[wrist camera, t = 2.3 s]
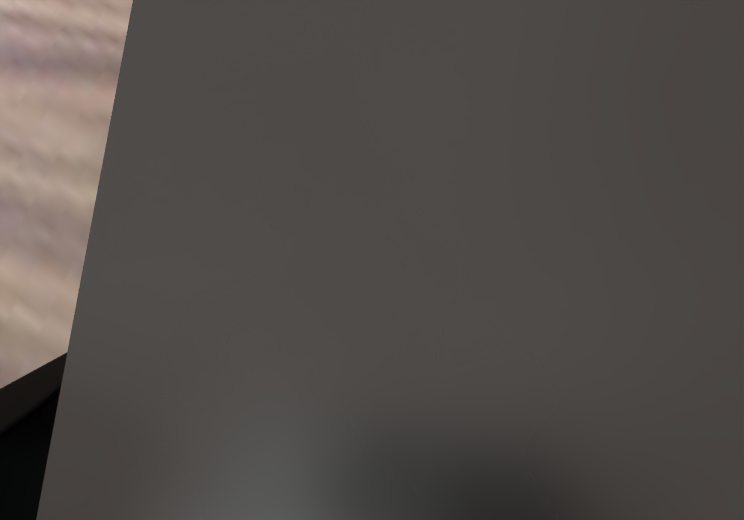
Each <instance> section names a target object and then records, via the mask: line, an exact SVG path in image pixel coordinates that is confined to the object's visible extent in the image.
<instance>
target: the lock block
mask: <svg viewBox="0 0 744 520" xmlns="http://www.w3.org/2000/svg"><path fill="white" fill-rule="evenodd" d="M36 520H744V0H133V4H132V9H131V14H130V20H129V25H128V30H127V36H126V41H125V46H124V52H123V57H122V63H121V68H120V73H119V79H118V84H117V89H116V95H115V100H114V105H113V111H112V116H111V122H110V127H109V132H108V138H107V143H106V148H105V154H104V159H103V164H102V170H101V175H100V180H99V186H98V191H97V197H96V202H95V207H94V213H93V218H92V223H91V229H90V234H89V239H88V245H87V250H86V256H85V261H84V266H83V272H82V277H81V282H80V288H79V293H78V298H77V304H76V309H75V315H74V320H73V325H72V331H71V336H70V341H69V347H68V352H67V357H66V363H65V368H64V374H63V379H62V384H61V390H60V395H59V400H58V406H57V411H56V416H55V422H54V427H53V433H52V438H51V443H50V449H49V454H48V459H47V465H46V470H45V475H44V481H43V486H42V491H41V497H40V502H39V508H38V513H37V518H36Z"/></svg>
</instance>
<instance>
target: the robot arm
mask: <svg viewBox="0 0 744 520" xmlns="http://www.w3.org/2000/svg"><path fill="white" fill-rule="evenodd" d="M66 357H67V353H65V354H63V355H62V356H60V357H58V358H56V359H54V360H52V361H51V362H49V363H47V364H45V365H43V366H41V367H40V368H38V369H36V370H34V371H32V372H30V373H28V374H27V375H25V376H23V377H21V378H19V379H17V380H16V381H14V382H12V383H10V384H8V385H6V386H5V387H3V388H1V389H0V520H36V518H37V513H38V508H39V502H40V497H41V491H42V486H43V481H44V475H45V470H46V465H47V459H48V454H49V449H50V443H51V438H52V433H53V427H54V422H55V416H56V411H57V406H58V400H59V395H60V390H61V384H62V379H63V374H64V368H65V363H66Z"/></svg>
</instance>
